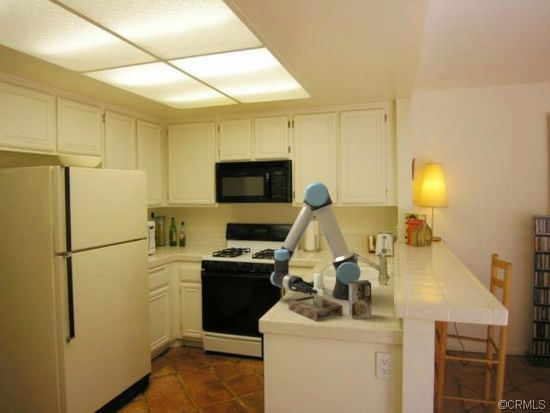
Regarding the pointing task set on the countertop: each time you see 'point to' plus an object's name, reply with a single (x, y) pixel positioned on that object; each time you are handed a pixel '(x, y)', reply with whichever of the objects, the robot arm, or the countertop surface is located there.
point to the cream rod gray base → (318, 299)
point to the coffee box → (360, 299)
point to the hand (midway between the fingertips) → (326, 292)
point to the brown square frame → (314, 308)
